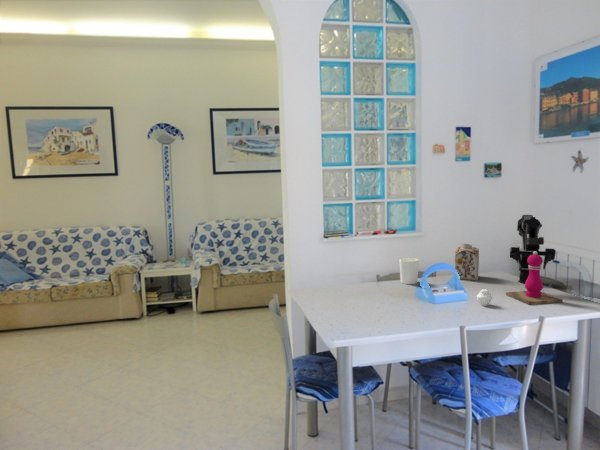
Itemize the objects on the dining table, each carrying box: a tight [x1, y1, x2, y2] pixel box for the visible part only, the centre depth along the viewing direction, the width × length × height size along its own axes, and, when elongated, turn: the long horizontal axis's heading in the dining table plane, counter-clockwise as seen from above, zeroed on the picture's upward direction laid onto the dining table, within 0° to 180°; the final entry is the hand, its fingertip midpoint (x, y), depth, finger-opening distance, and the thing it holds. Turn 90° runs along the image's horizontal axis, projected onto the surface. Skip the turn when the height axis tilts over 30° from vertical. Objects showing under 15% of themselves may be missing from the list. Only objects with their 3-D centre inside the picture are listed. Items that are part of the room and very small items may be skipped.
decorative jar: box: [454, 243, 480, 281], centre depth 242 cm, size 12×12×18 cm
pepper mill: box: [524, 251, 544, 297], centre depth 200 cm, size 7×7×20 cm
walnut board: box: [505, 290, 563, 306], centre depth 201 cm, size 16×16×1 cm
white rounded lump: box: [476, 288, 493, 307], centre depth 193 cm, size 6×6×7 cm
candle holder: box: [398, 257, 420, 285], centre depth 234 cm, size 10×10×12 cm
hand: (532, 268), depth 207 cm, fingers open, 9 cm apart
